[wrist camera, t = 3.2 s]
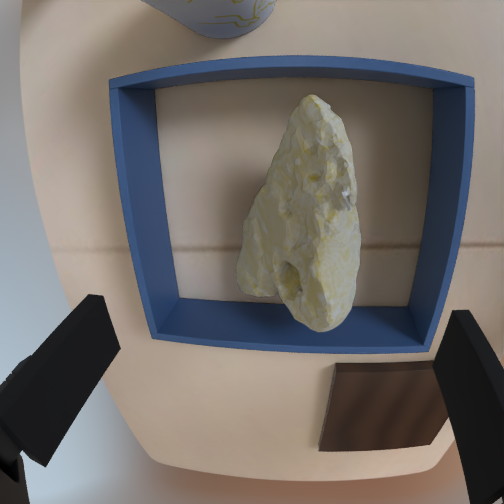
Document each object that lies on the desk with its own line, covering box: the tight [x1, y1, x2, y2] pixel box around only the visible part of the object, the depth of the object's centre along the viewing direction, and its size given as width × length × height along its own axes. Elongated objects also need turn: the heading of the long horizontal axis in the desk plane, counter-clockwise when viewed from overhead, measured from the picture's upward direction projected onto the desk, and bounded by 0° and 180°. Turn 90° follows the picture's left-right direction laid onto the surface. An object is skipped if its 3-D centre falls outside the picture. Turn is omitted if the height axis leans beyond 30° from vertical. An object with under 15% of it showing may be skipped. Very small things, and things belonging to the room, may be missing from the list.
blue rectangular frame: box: [109, 55, 475, 354], centre depth 24 cm, size 25×22×6 cm
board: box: [319, 361, 449, 452], centre depth 35 cm, size 18×18×2 cm
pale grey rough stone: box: [236, 95, 362, 332], centre depth 24 cm, size 15×7×15 cm
